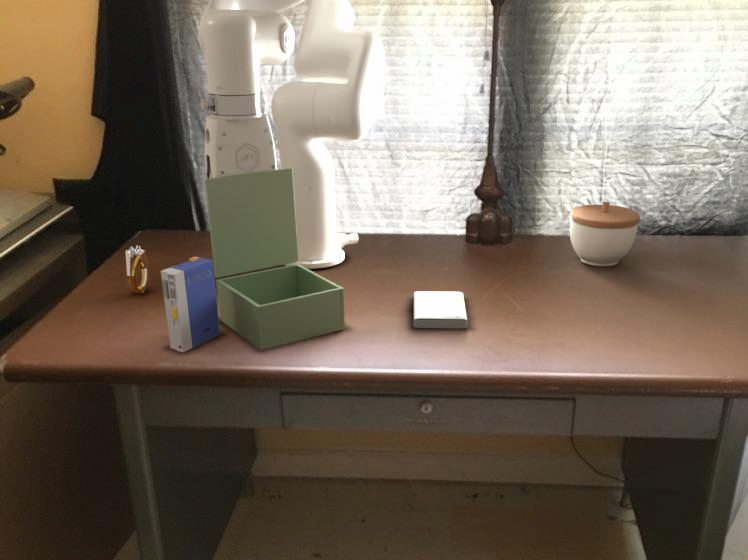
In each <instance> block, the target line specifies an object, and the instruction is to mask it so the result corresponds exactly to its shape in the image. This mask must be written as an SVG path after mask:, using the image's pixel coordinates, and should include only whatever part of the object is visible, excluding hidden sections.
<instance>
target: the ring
mask: <svg viewBox="0 0 748 560" xmlns="http://www.w3.org/2000/svg"><path fill="white" fill-rule="evenodd" d="M134 258H135V259H134ZM132 259H134V261H133V264H132ZM125 263H126V265H125V266H126V277H127V282H128V286H129V289H130V290H131V291H132V292H133V293H135V294H136V293H137V294H144V293H145V290H146V289H147V287H148V283H149V275H150V274H149V273H150V272H149V261H148V257H147V252H146V250H145V249H142V246H141V245H135V247H133V246H130V247H129V248H128V249H126V250H125ZM138 266H139V267H140V269H141V282H140V285H139V286H137V272H138Z"/></svg>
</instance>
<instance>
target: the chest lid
mask: <svg viewBox="0 0 748 560" xmlns="http://www.w3.org/2000/svg"><path fill="white" fill-rule="evenodd" d="M203 181H204V189H205V199H206V207H207V216H208V227H209V235H210V243H211V251H212V260H213V269H214V278H217V279H218V278H223V277H229V276H232V275H233V276H235V275H240V274H245V273H250V272H255V271H260V270H265V269H270V268H273V267H274V268H275V267H280V266H286V265H285V264H290V263H295V262H298V247H297V232H296V218H295V203H294V188H293V173H292V168H284V169H281V168H277V170H270V171H263V172H256V173H248V174H240V175H232V176H224V177H215V178H208V179H207V178H204V180H203Z"/></svg>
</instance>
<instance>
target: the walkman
mask: <svg viewBox="0 0 748 560" xmlns="http://www.w3.org/2000/svg"><path fill="white" fill-rule="evenodd" d="M160 277H161V286H162V293H163V300H164V301H163V302H164V308H165V315H166V317H165V318H166V323H167V333H168V339H169V347H170V349H172V350H174V351H177V352H180V353H186V352H188V351H189V350H191V349H193V348H195V347H198V346H200V345H201V344H204V343H206V342H208V341H210V340H212V339H214V338H216V337H218V336H220V335H221V330H220V318H219V308H218V298H217V288H216V280H215V271H214V262H213V259H209V258H205V257H201V256H192V257H189V258H188V260H187V261H184V262H182V263H181V262H180V263H179V264H175V265H174V266H170V267H168V268H164V269H162V270H160Z"/></svg>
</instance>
